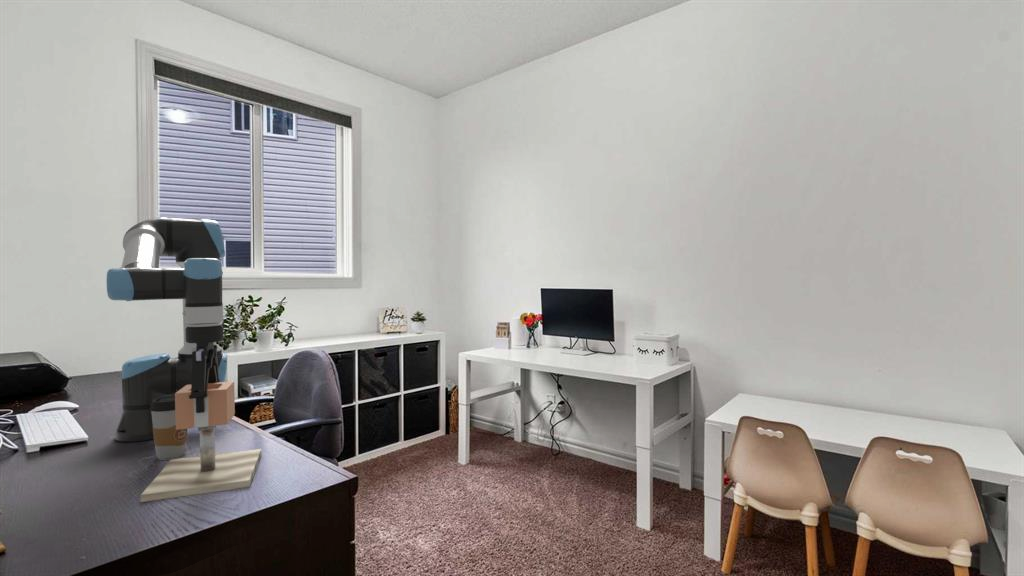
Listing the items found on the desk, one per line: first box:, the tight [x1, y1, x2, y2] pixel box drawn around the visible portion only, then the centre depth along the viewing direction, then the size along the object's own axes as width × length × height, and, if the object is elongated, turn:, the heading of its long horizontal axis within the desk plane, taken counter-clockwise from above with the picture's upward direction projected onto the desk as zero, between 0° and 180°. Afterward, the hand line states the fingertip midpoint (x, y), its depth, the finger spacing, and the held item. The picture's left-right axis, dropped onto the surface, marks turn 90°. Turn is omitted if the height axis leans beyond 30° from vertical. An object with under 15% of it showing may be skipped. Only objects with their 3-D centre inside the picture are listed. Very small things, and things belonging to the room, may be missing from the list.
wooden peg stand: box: [140, 426, 262, 503], centre depth 117 cm, size 22×20×15 cm
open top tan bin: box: [175, 380, 236, 430], centre depth 116 cm, size 10×10×8 cm
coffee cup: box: [150, 396, 188, 461], centre depth 130 cm, size 8×8×15 cm
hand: (207, 420), depth 117 cm, fingers closed on open top tan bin, 10 cm apart
